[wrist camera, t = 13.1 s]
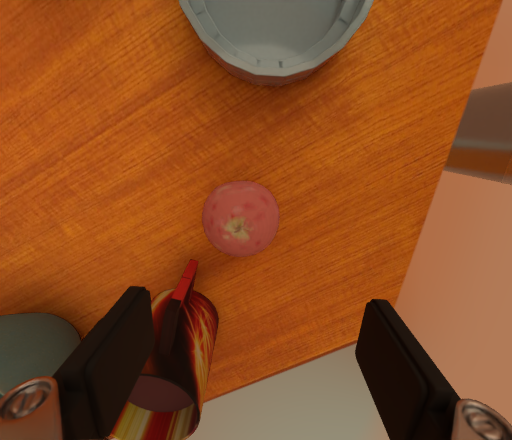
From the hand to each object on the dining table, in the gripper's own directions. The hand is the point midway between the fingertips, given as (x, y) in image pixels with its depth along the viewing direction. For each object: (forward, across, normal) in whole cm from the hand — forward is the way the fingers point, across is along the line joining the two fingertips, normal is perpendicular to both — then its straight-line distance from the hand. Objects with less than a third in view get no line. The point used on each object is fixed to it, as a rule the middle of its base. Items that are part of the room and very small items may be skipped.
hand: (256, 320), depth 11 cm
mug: (+19, +10, +15) cm, 26 cm away
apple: (+19, +2, +1) cm, 19 cm away
